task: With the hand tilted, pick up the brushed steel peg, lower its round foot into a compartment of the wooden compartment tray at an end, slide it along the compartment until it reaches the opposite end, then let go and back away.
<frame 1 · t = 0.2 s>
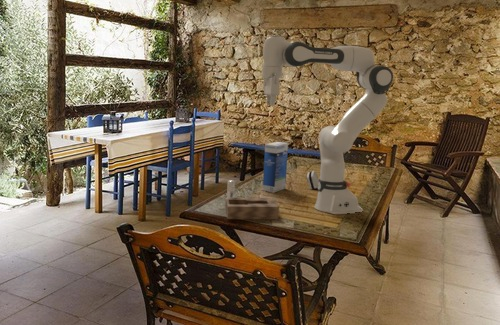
hand: (270, 105, 191), 48 cm above the table, tool pointing down, fingers open, 8 cm apart
string lights box: (274, 190, 236), on the table
wooden compartment tray: (250, 214, 190), on the table
steel peg: (230, 205, 201), on the table
hinge: (313, 186, 248), on the table
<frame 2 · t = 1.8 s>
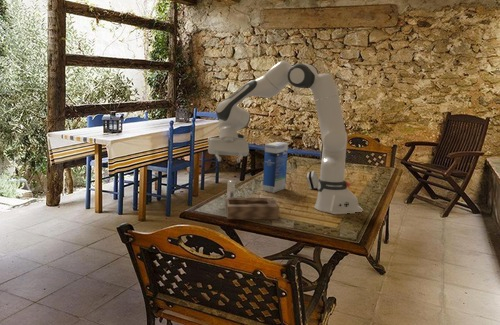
hand: (229, 161, 209), 19 cm above the table, tool tilted 45°, fingers open, 8 cm apart
nothing on the table moved.
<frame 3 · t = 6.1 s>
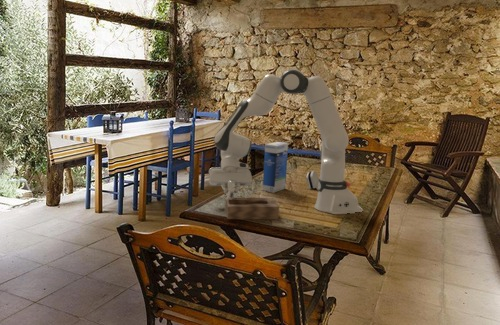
hand: (231, 192, 200), 7 cm above the table, tool tilted 45°, fingers closed on steel peg, 4 cm apart
steel peg: (230, 205, 201), on the table, touching gripper
everything else where it was.
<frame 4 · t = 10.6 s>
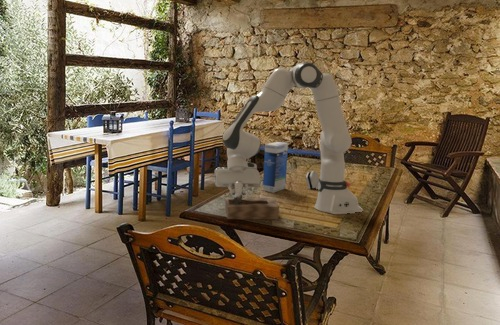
hand: (238, 194, 187), 9 cm above the table, tool tilted 45°, fingers closed on steel peg, 4 cm apart
steel peg: (237, 208, 188), point 3 cm above the table, touching gripper
everything else where it was.
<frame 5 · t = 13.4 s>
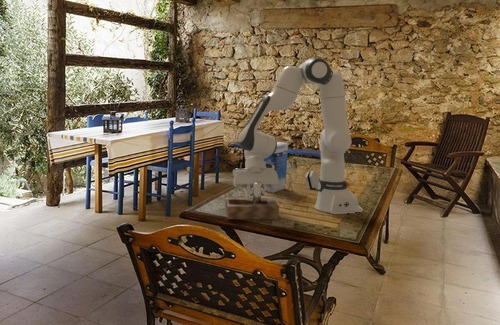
hand: (257, 195, 188), 9 cm above the table, tool tilted 45°, fingers closed on steel peg, 4 cm apart
steel peg: (256, 209, 190), point 2 cm above the table, touching gripper
everything else where it was.
when the fingers open (9 cm above the table, at t = 15.6 s): steel peg drops 2 cm, resting on wooden compartment tray.
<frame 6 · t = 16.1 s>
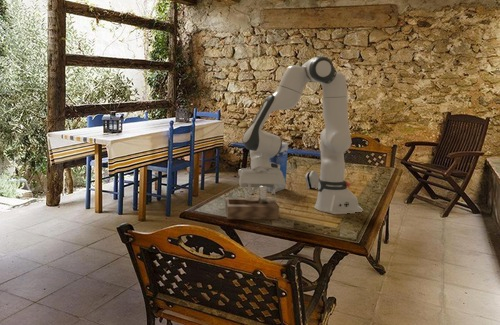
hand: (262, 194, 188), 9 cm above the table, tool tilted 45°, fingers open, 8 cm apart
steel peg: (261, 212, 190), point 1 cm above the table, touching wooden compartment tray
everything else where it was.
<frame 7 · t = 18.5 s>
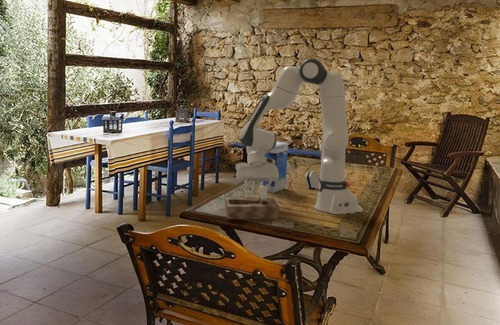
hand: (258, 187, 200), 9 cm above the table, tool tilted 45°, fingers open, 8 cm apart
nothing on the table moved.
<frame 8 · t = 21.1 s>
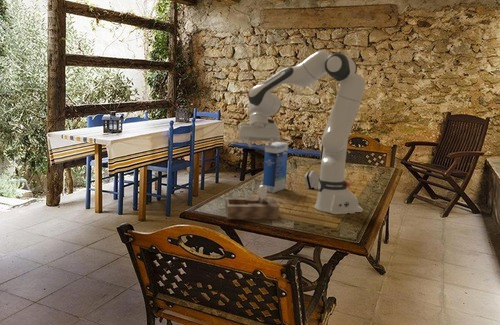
hand: (260, 146, 205), 27 cm above the table, tool tilted 45°, fingers open, 8 cm apart
nothing on the table moved.
at the end: steel peg 0.2 cm from the target spot, point 1.1 cm above the table; steel peg tilted 1°; the gripper is holding nothing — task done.
